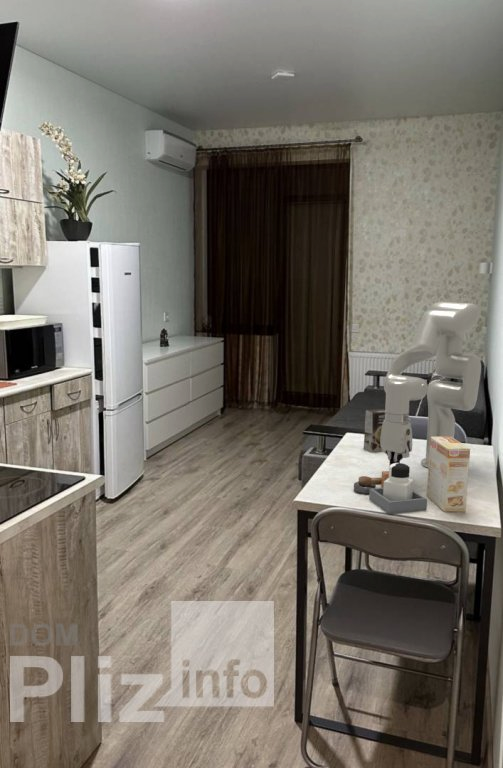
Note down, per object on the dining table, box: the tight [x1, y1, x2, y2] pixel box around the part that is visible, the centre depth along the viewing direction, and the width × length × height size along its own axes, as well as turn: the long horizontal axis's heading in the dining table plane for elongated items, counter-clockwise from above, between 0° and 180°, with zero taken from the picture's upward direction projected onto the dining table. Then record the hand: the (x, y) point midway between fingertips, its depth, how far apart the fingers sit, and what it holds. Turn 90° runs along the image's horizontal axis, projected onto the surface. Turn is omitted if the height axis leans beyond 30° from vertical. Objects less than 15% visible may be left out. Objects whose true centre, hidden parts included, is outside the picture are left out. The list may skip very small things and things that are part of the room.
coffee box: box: [363, 408, 385, 453], centre depth 258 cm, size 9×6×16 cm
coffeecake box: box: [426, 437, 471, 513], centre depth 198 cm, size 15×7×20 cm, turn 5°
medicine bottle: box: [383, 462, 414, 501], centre depth 197 cm, size 7×7×12 cm
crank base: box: [353, 481, 377, 496], centre depth 209 cm, size 7×7×2 cm
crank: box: [358, 475, 382, 486], centre depth 209 cm, size 14×4×6 cm, turn 95°
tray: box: [368, 487, 428, 515], centre depth 197 cm, size 13×13×4 cm
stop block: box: [380, 470, 389, 488], centre depth 207 cm, size 3×3×7 cm
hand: (394, 471), depth 213 cm, fingers closed
